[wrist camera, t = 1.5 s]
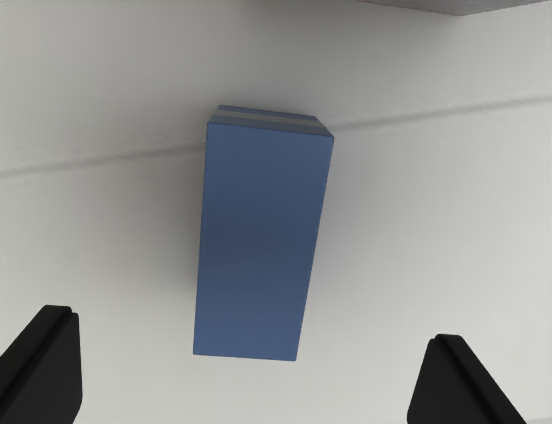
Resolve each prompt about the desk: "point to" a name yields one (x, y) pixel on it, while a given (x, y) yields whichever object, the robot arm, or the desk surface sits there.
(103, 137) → the desk surface
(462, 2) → the walnut crate
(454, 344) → the robot arm
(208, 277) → the block
